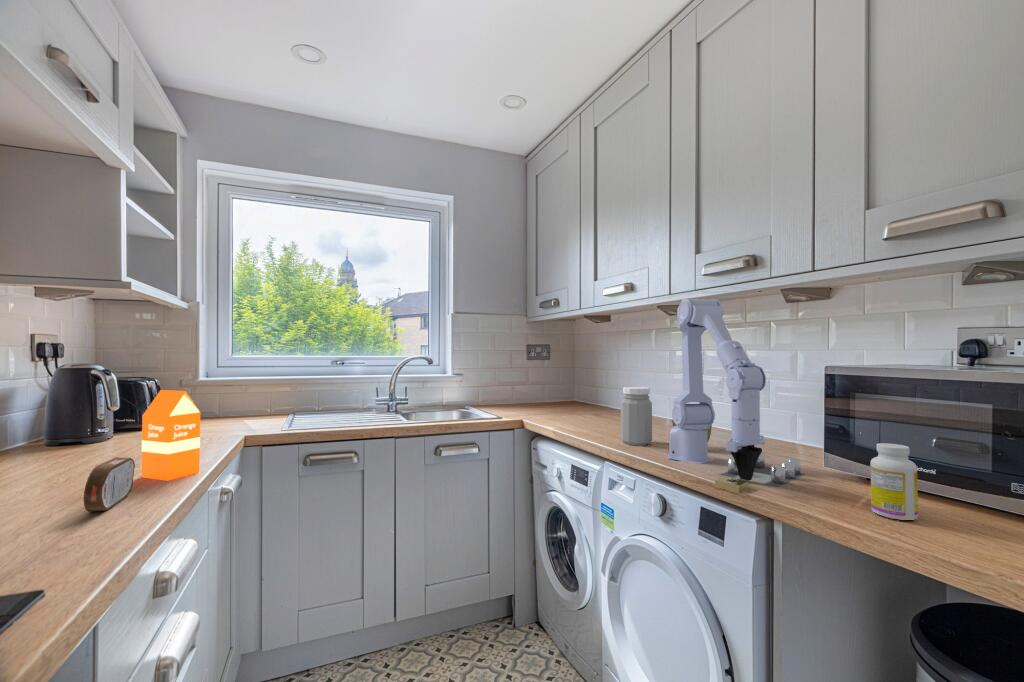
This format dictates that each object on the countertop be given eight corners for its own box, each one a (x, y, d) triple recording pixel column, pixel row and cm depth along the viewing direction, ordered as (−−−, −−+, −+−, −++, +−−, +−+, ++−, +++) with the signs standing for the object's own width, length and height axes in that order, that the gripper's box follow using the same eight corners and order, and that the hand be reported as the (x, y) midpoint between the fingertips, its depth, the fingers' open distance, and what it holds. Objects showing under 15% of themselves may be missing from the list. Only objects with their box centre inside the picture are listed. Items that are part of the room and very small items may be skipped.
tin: (118, 493, 95) (119, 453, 95) (137, 492, 96) (138, 451, 96) (80, 519, 81) (81, 471, 81) (102, 516, 82) (104, 469, 82)
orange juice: (167, 480, 104) (168, 392, 105) (140, 477, 107) (142, 391, 108) (200, 472, 112) (201, 389, 112) (174, 469, 115) (176, 388, 115)
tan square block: (715, 490, 100) (715, 479, 101) (725, 486, 104) (725, 475, 104) (738, 496, 97) (738, 485, 97) (748, 491, 100) (748, 480, 100)
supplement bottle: (897, 509, 88) (896, 441, 88) (928, 522, 81) (927, 449, 81) (861, 509, 88) (861, 441, 88) (890, 522, 81) (889, 449, 81)
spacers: (724, 472, 112) (724, 458, 112) (749, 463, 121) (749, 450, 121) (782, 484, 102) (782, 469, 102) (805, 474, 111) (805, 459, 111)
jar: (615, 441, 153) (615, 386, 153) (640, 439, 156) (640, 386, 156) (631, 447, 143) (631, 389, 144) (658, 445, 146) (658, 388, 147)
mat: (719, 476, 110) (719, 474, 110) (749, 465, 121) (749, 463, 121) (777, 488, 100) (777, 487, 100) (805, 475, 111) (805, 473, 111)
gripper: (749, 424, 97) (749, 489, 97) (777, 418, 106) (777, 477, 106) (716, 420, 102) (716, 481, 102) (745, 414, 112) (746, 471, 111)
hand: (745, 479), depth 105 cm, fingers closed
